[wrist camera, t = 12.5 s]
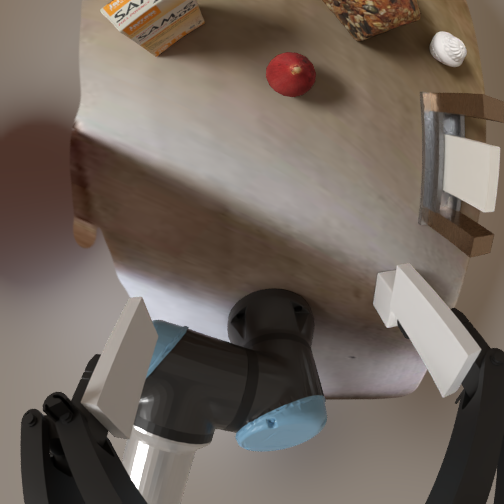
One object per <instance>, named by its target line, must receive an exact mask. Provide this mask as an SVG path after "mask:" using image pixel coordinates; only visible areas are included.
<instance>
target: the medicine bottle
mask: <svg viewBox="0 0 504 504" xmlns="http://www.w3.org/2000/svg"><path fill="white" fill-rule="evenodd" d="M395 276H396V270H392V271H386V272H380V273H378V275H377V282H376V289H375V295H374V301H373V305H374V307H375V308H376V310H377V312H378V314H379V315H380V317H381V319H382V320H383V322H384V324H385V326H386V327H387V328H390V327H395V326H398V327H399V328H400V330H401V332H402V333H403V335H404V337H405V338H407V339H410V338H409V337H408V335H407V333H406V332H405V330H404V329H403V327H402V325H401V324H400V322H399V321H398V319H397V317H396V316H395V314H394V313H393V311H392V310H391V308H390V303H391V298H392V293H393V287H394V282H395Z"/></svg>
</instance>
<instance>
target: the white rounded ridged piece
mask: <svg viewBox="0 0 504 504" xmlns="http://www.w3.org/2000/svg"><path fill="white" fill-rule="evenodd" d="M429 49H430V52H431V54H432V56H433V57H434V58H435V59H436V60H438V61H440V62H441V63H443V64H445V65H448V66H451V67H458V66H460V65H461V64H462V62H463V60H464V58H465V56H466V53H467V50H466V47H465V45H464V44H463V42H462V41H461V40H460V39H457V38H456V37H454V36H453V35H451V34H450V33H447V32H438V33H436V34H435V36H434V37H433V38H432V41H431V43H430V46H429Z"/></svg>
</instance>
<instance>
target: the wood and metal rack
mask: <svg viewBox="0 0 504 504" xmlns="http://www.w3.org/2000/svg"><path fill="white" fill-rule="evenodd" d="M420 101H421V115H422V149H423V151H422V186H421V201H420V212H419V222H418V223H419V224H420V225H426V224H428V225H429V226H430V227H432V228H433V229H434V230H436V231H437V232H438V233H440V234H441V235H442V236H444V237H445V238H446V239H448V240H449V241H450V242H451V243H453V244H454V245H455V246H456V247H458V248H459V249H460V250H461V251H463V252H464V253H465V254H466V255H468V256H469V257H475V256H479V255H483V254H488V253H490V251H491V247H492V243H493V238H494V234H493V233H491V232H490V231H489V230H487V229H486V228H484V227H482V226H481V225H479V224H478V223H476V222H475V221H473V220H472V219H470V218H468V217H467V216H465V215H464V214H462V213H460V212H459V211H460V207H461V199H459V198H457V197H455V196H453V195H451V194H450V193H448V192H446V191H444V190H442V183H443V163H444V134H450V135H454V136H459V137H463V138H465V123H464V116H467V117H473V118H480V119H486V120H491V121H497V122H501V123H504V102H503V101H500V100H498V99H495V98H492V97H489V96H486V95H483V94H470V93H427V92H420Z"/></svg>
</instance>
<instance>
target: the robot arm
mask: <svg viewBox="0 0 504 504" xmlns="http://www.w3.org/2000/svg"><path fill="white" fill-rule="evenodd" d="M390 308H391V310H392V311H393V313H394V314H395V316H396V317H397V319H398V321H399V322H400V324H401V325H402V327H403V329H404V330H405V332H406V333H407V335H408V337H409V338H410V340H411V342H412V343H413V345H414V347H415V348H416V350H417V352H418V353H419V355H420V357H421V359H422V360H423V362H424V364H425V366H426V367H427V369H428V371H429V373H430V375H431V376H432V378H433V380H434V382H435V384H436V386H437V387H438V389H439V391H440V393H441V395H442V397H443V398H444V397H446V396H448V395H450V394H453V393H455V392H456V391H457V389H458V388H459V386H460V385H461V384H462V386H463V387H464V390H463V391H462V392H461V394H460V395H459V397H458V398H457V399H456V402H455V403H456V404H457V403H458V401H459V400H460V404H459V408H458V412H457V417H456V420H455V424H454V428H453V432H452V435H451V439H450V442H449V445H448V448H447V451H446V454H445V458H444V460H443V463H442V465H441V468H440V471H439V473H438V476H437V478H436V481H435V483H434V486H433V488H432V490H431V492H430V495H429V497H428V499H427V501H426V503H425V504H486V502H487V499H488V496H489V493H490V490H491V486H492V483H493V480H494V476H495V472H496V469H497V479H496V489H495V497H494V504H504V352H503V351H502V350H500V349H498V348H492V349H491V348H490V347H489V346H488V344H487V343H486V342H485V340H484V339H483V338H482V336H481V335H480V334H479V333H478V331H477V330H476V329H475V328H474V327H473V325H472V324H471V323H470V322H469V320H468V319H467V318H466V316H465V315H464V314H463V313H462V312H460V311H459V310H457V309H456V308H452V309H450V308H449V307H448V306H447V305H446V304H445V302H444V301H443V300H442V299H441V298H440V297H439V295H438V294H437V293H436V292H435V291H434V290H433V289H432V287H431V286H430V285H429V284H428V283H427V282H426V281H425V280H424V279H423V277H422V276H421V275H420V274H419V273H418V272H417V271H416V270H415V269H414V268H413V267H412V266H411V265H410V263H406V264H400V265H397V270H396V276H395V282H394V287H393V293H392V298H391V303H390ZM188 328H189V327H187V326H184V327H182V326H179V325H175V324H172V323H169V322H166V321H163V320H154V321H152V320H151V318H150V315H149V313H148V310H147V308H146V305H145V303H144V300H143V298H142V297H134V298H129V300H128V301H127V303H126V305H125V307H124V309H123V311H122V313H121V315H120V317H119V319H118V321H117V323H116V325H115V327H114V329H113V331H112V333H111V335H110V337H109V339H108V341H107V343H106V345H105V348H104V350H103V352H102V354H101V355H99V354H96V355H95V356H94V357H93V358H92V359H91V360H90V361H89V362H88V364H87V367H86V369H85V372H84V373H83V375H82V379H81V380H80V382H79V384H78V387H77V389H76V391H75V393H74V395H73V398H72V400H71V401H70V399H69V398H68V397H67V396H66V395H65V394H64V393H62V392H55V393H52V394H51V395H49V396H48V397H47V398H46V400H45V401H44V404H43V411H44V412H45V413H46V414H47V415H43V414H42V413H41V412H40V411H38V410H37V409H31V410H28V411H27V412H26V413H25V414H24V416H23V418H22V422H21V473H22V485H23V494H24V502H25V504H181V500H182V497H183V494H184V490H185V487H186V483H187V479H188V476H189V473H190V469H191V466H192V462H193V459H194V455H195V451H197V450H198V449H200V448H203V447H205V446H207V445H209V444H210V443H211V441H212V438H213V434H214V431H215V429H221V430H226V431H231V432H235V433H236V440H237V442H238V444H239V445H240V446H241V447H243V448H245V449H247V450H251V451H274V450H281V449H285V448H289V447H292V446H296V445H298V444H301V443H303V442H305V441H308V440H309V439H311V438H313V437H314V436H316V435H317V434H318V433H319V432H320V431H321V430H322V429H323V428H324V426H325V424H326V421H327V415H326V408H325V397H324V394H323V390H322V387H321V383H320V379H319V376H318V372H317V369H316V365H315V361H314V358H313V354H312V351H311V345H312V339H313V332H314V318H313V315H312V312H311V309H310V307H309V305H308V303H307V302H306V301H305V300H304V299H303V298H302V297H300V296H299V295H297V294H295V293H293V292H290V291H287V290H282V289H265V290H260V291H256V292H253V293H251V294H249V295H247V296H245V297H244V298H242V299H241V300H239V301H238V302H237V303H236V304H235V306H234V307H233V308H232V310H231V312H230V314H229V317H228V337H229V339H230V342H231V343H229V342H226V341H223V340H220V339H217V338H214V337H211V336H208V335H205V334H202V333H199V332H196V331H193V330H190V329H188ZM108 431H109V432H110V433H111V434H112V435H113V436H114V437H117V438H123V439H127V443H126V447H125V452H124V455H123V460H122V462H121V461H120V459H119V457H118V455H117V454H116V452H115V450H114V448H113V446H112V444H111V442H110V440H109V439H108V438H107V434H108Z"/></svg>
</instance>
